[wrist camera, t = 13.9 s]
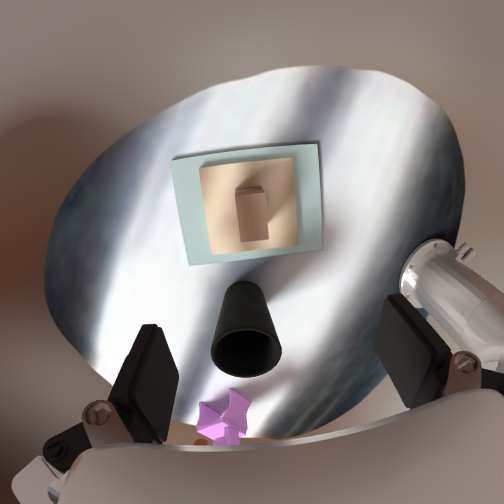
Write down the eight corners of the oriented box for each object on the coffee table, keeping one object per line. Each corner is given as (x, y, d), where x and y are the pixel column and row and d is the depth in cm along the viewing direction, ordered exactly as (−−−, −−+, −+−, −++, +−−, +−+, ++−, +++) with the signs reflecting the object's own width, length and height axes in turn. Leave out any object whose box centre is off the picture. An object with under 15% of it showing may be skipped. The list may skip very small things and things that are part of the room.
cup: (228, 266, 37) (224, 318, 26) (279, 284, 39) (294, 338, 27) (210, 310, 40) (202, 368, 29) (258, 325, 41) (264, 383, 30)
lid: (290, 157, 32) (301, 159, 26) (296, 242, 36) (306, 260, 30) (199, 167, 32) (191, 172, 26) (212, 252, 36) (207, 272, 30)
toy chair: (193, 400, 48) (186, 464, 34) (227, 385, 46) (225, 453, 32) (221, 418, 51) (220, 477, 37) (254, 404, 49) (258, 467, 35)
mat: (315, 143, 32) (317, 144, 31) (321, 248, 37) (322, 250, 36) (171, 160, 32) (170, 160, 31) (189, 264, 37) (189, 265, 36)
